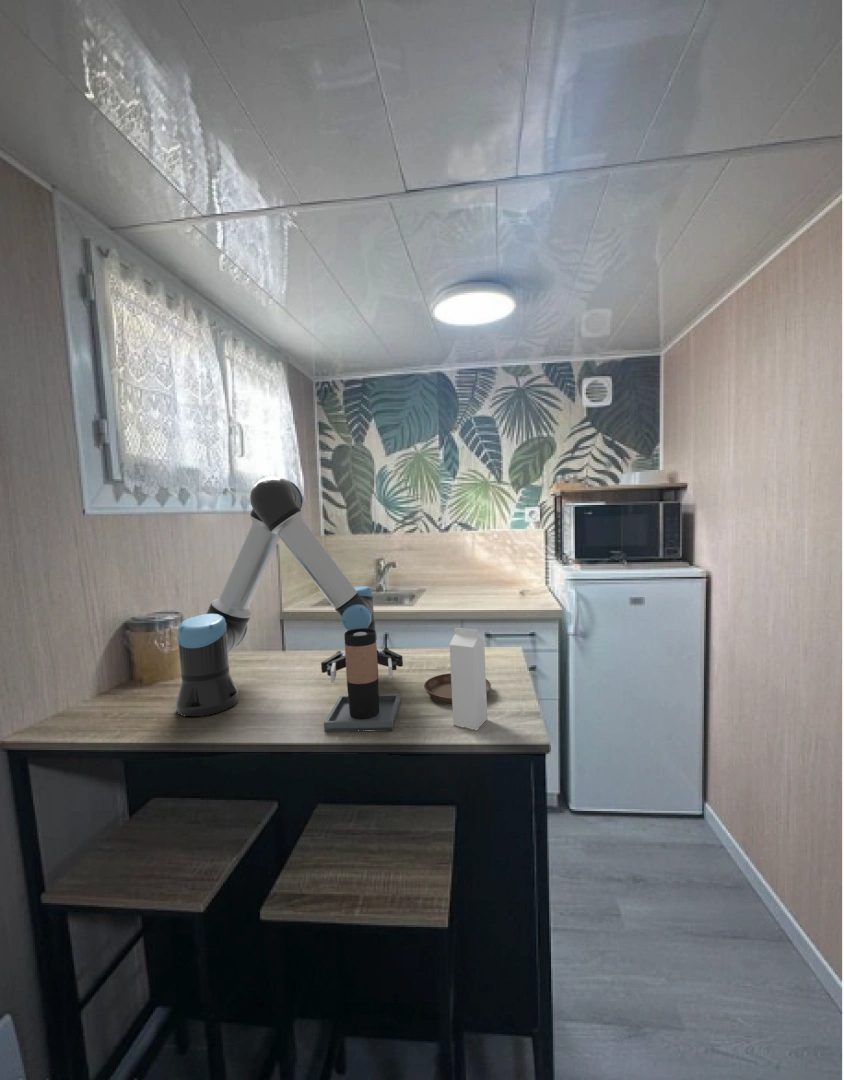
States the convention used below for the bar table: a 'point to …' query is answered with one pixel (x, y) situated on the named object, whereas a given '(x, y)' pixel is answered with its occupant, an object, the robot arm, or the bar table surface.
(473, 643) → the milk
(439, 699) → the plant saucer
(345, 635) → the travel mug
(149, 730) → the bar table surface
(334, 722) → the tray
